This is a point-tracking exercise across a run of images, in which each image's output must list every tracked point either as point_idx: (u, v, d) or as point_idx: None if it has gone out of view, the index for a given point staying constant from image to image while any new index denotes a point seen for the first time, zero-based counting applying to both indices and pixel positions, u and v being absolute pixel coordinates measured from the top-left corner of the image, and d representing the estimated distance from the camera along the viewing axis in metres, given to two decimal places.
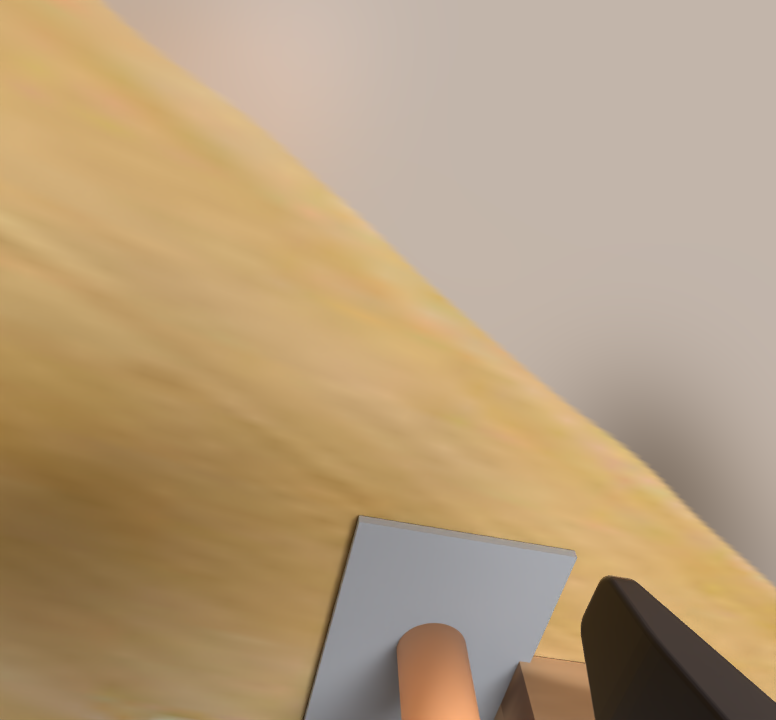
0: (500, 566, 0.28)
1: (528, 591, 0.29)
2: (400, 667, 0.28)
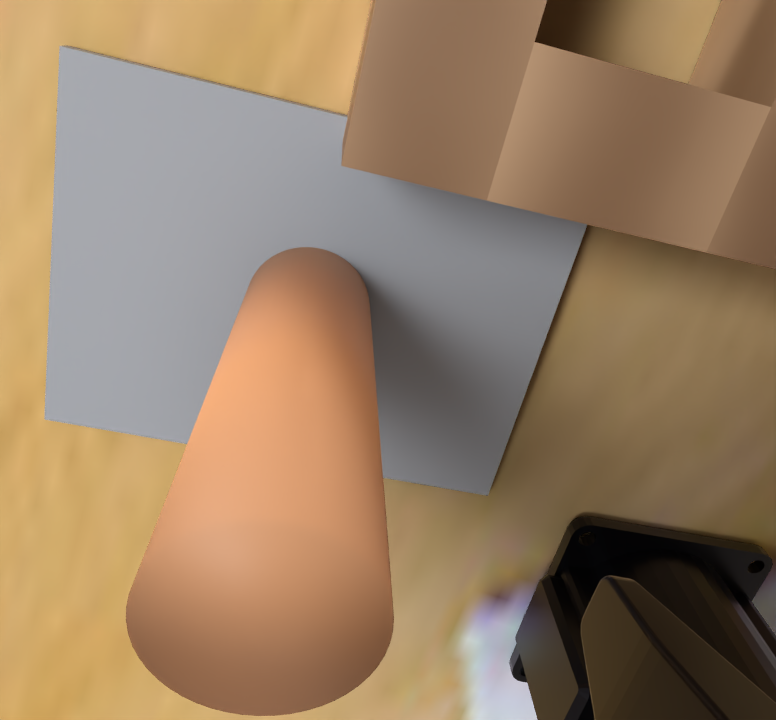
0: (104, 198, 0.16)
1: (158, 138, 0.15)
2: None
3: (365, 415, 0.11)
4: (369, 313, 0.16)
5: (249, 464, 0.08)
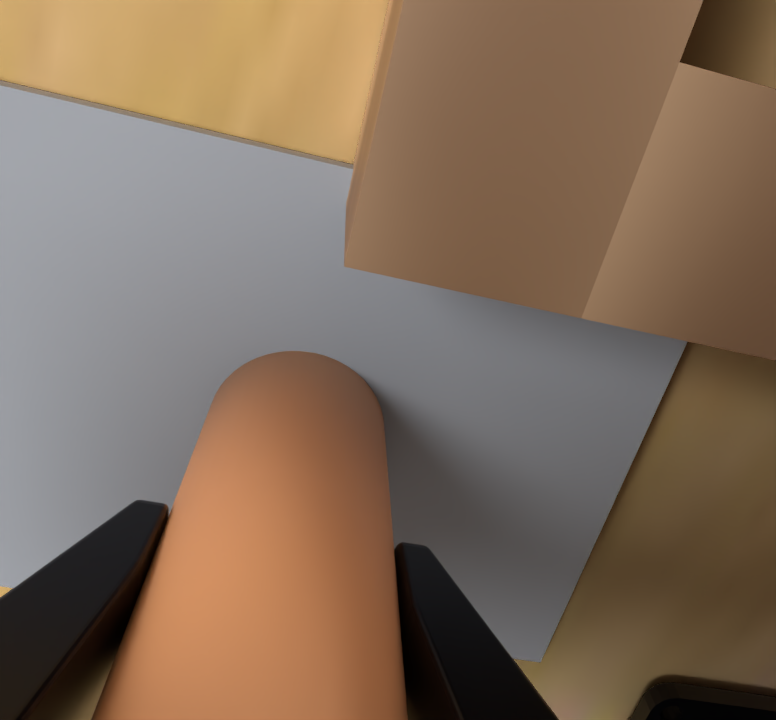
0: None
1: (71, 201, 0.10)
2: None
3: None
4: (385, 454, 0.11)
5: None
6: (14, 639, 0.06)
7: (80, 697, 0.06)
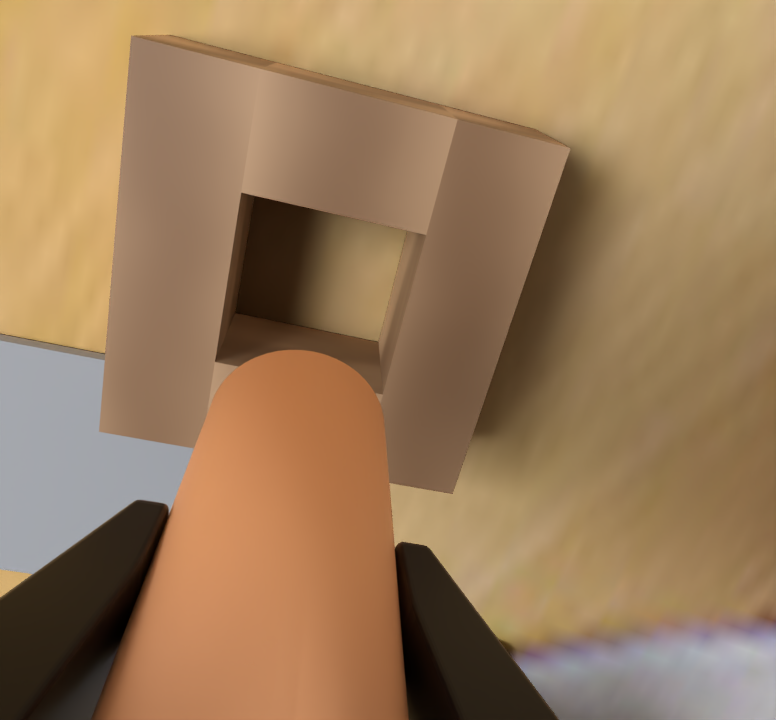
0: None
1: (0, 380, 0.21)
2: None
3: None
4: (385, 453, 0.11)
5: None
6: (14, 639, 0.06)
7: (80, 697, 0.06)
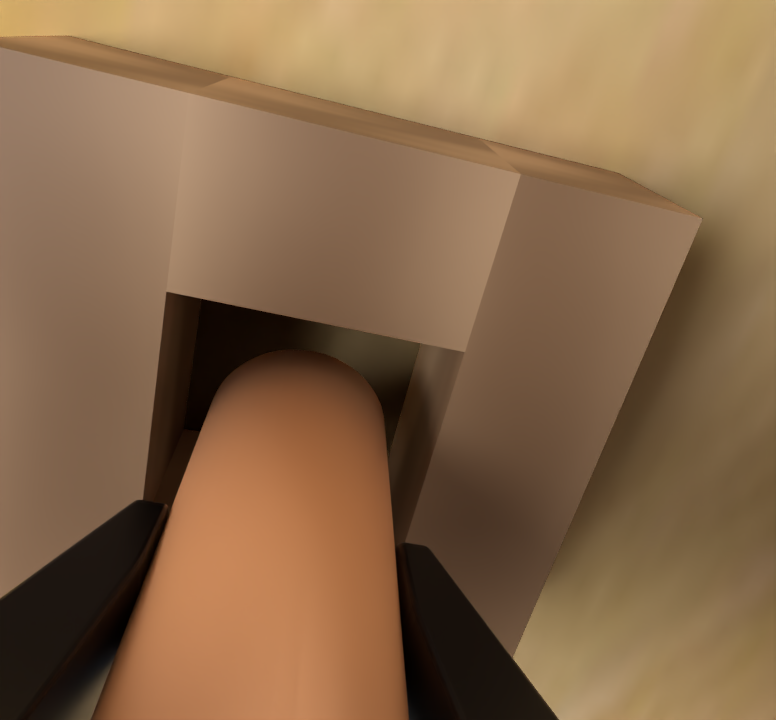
0: None
1: None
2: None
3: None
4: (385, 453, 0.11)
5: None
6: (14, 639, 0.06)
7: (80, 697, 0.06)
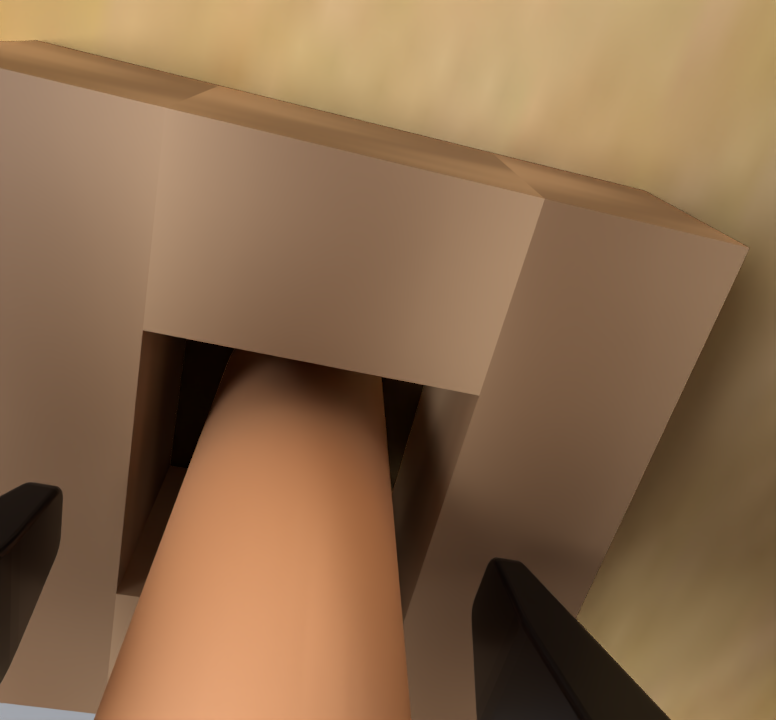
0: None
1: None
2: None
3: (384, 627, 0.07)
4: (383, 405, 0.12)
5: None
6: None
7: None
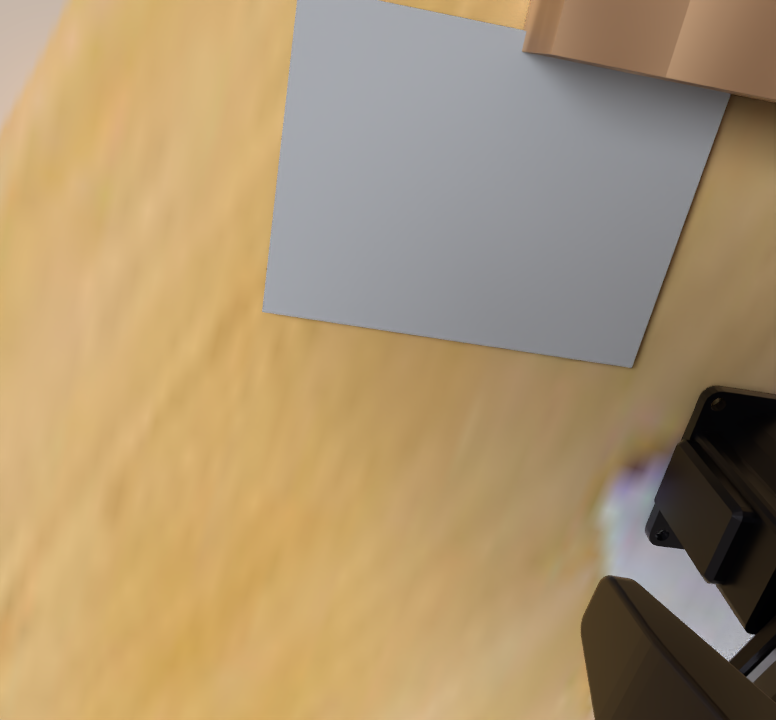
0: (325, 112, 0.19)
1: (372, 58, 0.18)
2: None
3: None
4: None
5: None
6: None
7: None
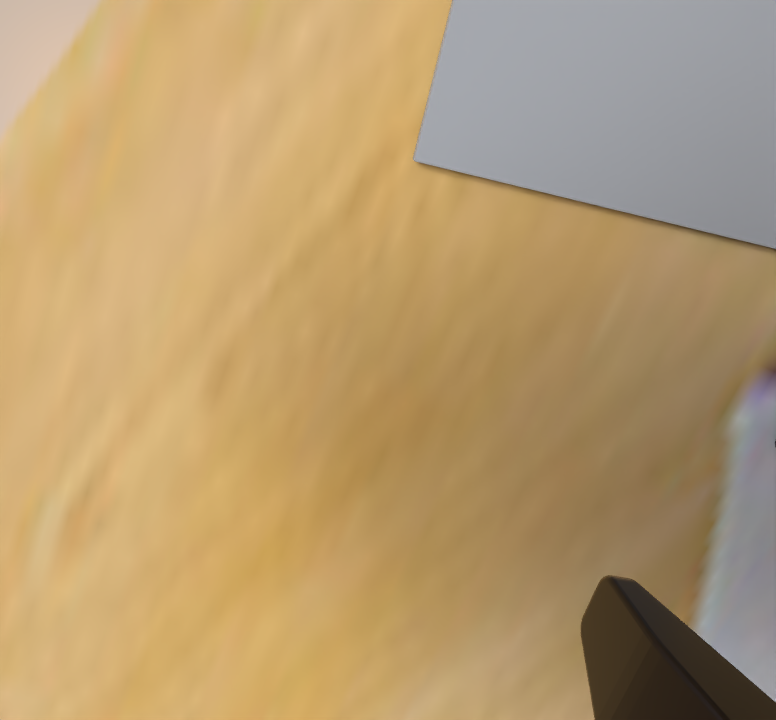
0: None
1: None
2: None
3: None
4: None
5: None
6: None
7: None
